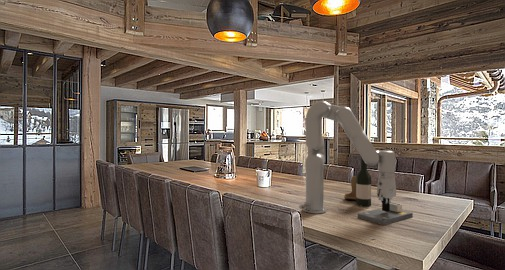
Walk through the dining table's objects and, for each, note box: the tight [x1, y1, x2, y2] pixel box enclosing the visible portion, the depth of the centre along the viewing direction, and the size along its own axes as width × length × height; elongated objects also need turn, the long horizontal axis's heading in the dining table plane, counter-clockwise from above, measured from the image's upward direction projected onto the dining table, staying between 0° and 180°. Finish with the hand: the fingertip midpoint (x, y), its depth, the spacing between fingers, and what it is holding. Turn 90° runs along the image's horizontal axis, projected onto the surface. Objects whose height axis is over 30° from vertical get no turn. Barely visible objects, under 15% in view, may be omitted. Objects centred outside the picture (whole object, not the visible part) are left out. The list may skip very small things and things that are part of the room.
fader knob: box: [389, 201, 403, 212], centre depth 155 cm, size 4×6×4 cm, turn 33°
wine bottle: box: [355, 156, 372, 208], centre depth 176 cm, size 8×8×30 cm
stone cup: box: [344, 175, 357, 201], centre depth 189 cm, size 15×12×15 cm
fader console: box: [357, 207, 413, 226], centre depth 151 cm, size 25×14×2 cm, turn 123°
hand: (385, 210), depth 151 cm, fingers closed
